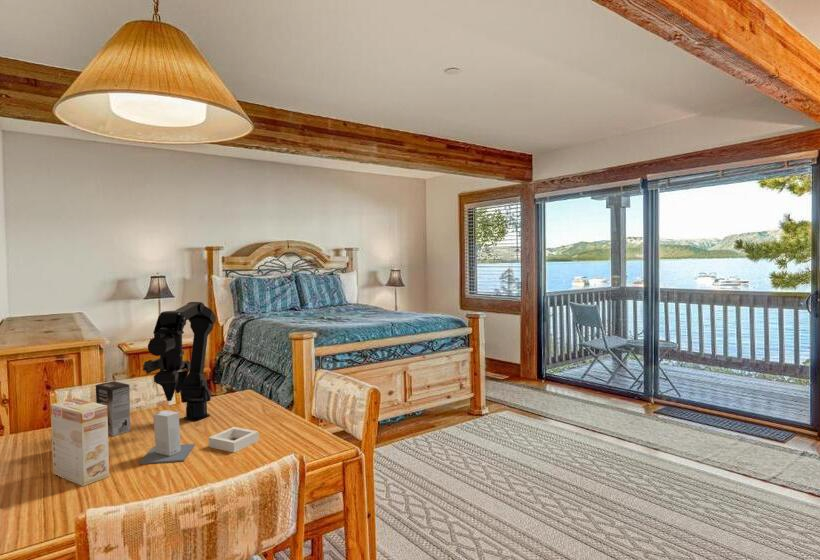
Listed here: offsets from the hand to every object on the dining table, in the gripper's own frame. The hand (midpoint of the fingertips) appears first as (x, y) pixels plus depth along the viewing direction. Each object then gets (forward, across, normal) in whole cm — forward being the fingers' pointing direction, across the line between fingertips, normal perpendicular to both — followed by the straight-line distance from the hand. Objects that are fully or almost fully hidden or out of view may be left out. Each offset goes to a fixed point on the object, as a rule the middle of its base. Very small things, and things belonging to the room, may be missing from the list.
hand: (173, 396), depth 159 cm
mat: (+13, +16, +3) cm, 21 cm away
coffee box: (+13, -8, -21) cm, 26 cm away
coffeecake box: (+13, +26, -16) cm, 34 cm away
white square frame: (+13, +11, +21) cm, 27 cm away
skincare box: (+13, +16, +2) cm, 20 cm away
